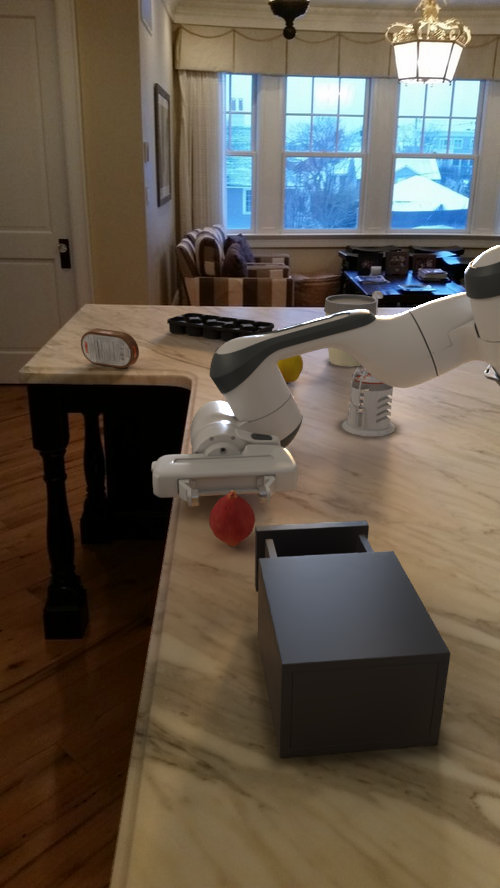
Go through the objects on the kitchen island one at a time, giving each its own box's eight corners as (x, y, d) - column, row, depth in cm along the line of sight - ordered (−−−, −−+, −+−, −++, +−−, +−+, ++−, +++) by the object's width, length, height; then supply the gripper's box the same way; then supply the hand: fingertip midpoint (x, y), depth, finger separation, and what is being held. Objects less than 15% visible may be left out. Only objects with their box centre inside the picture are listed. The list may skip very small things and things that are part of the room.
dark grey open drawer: (253, 580, 82) (253, 520, 79) (359, 574, 83) (363, 515, 80) (271, 672, 68) (273, 603, 65) (399, 663, 69) (406, 595, 66)
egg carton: (182, 323, 207) (181, 311, 206) (280, 331, 199) (280, 318, 198) (157, 337, 192) (156, 324, 190) (262, 346, 184) (263, 332, 182)
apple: (303, 386, 152) (304, 350, 149) (274, 386, 152) (274, 350, 149) (301, 377, 158) (302, 343, 155) (273, 377, 158) (273, 343, 155)
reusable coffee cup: (311, 360, 171) (313, 298, 165) (345, 351, 179) (348, 292, 173) (350, 371, 163) (354, 307, 157) (384, 362, 170) (389, 299, 164)
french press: (403, 424, 132) (416, 289, 122) (377, 444, 123) (388, 300, 113) (356, 413, 137) (364, 283, 127) (327, 432, 128) (334, 293, 118)
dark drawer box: (257, 638, 74) (258, 558, 70) (386, 630, 75) (393, 550, 71) (279, 758, 59) (281, 664, 55) (438, 744, 61) (450, 652, 57)
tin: (140, 367, 165) (138, 332, 162) (133, 371, 163) (130, 335, 159) (88, 360, 171) (85, 326, 168) (80, 363, 169) (77, 328, 165)
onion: (201, 543, 92) (199, 488, 88) (235, 529, 95) (235, 475, 92) (228, 562, 87) (228, 504, 84) (263, 546, 91) (264, 491, 88)
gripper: (150, 440, 103) (148, 481, 90) (289, 435, 105) (306, 474, 92) (152, 479, 105) (150, 524, 92) (288, 473, 107) (304, 517, 94)
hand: (229, 499), depth 92 cm, fingers open, 8 cm apart
